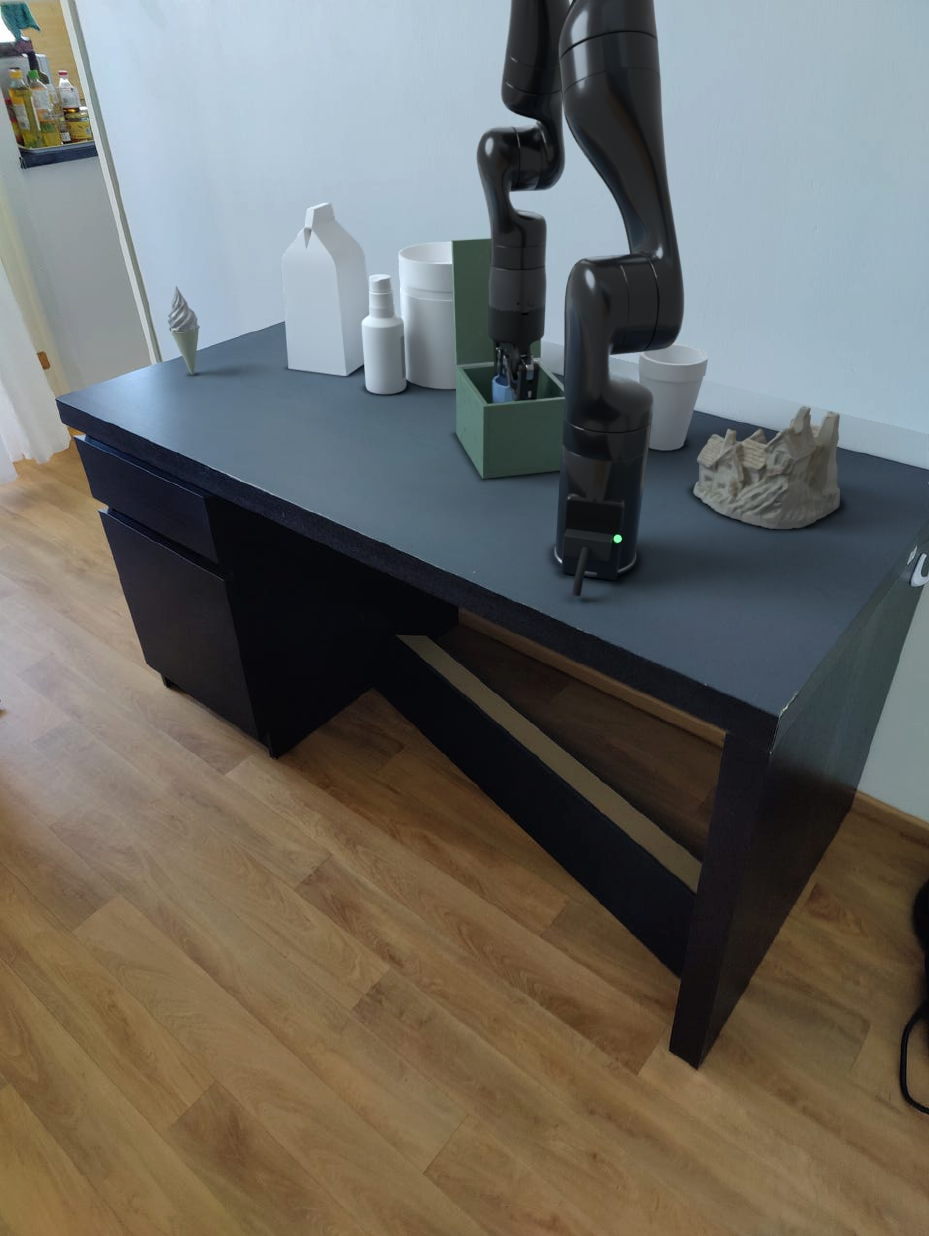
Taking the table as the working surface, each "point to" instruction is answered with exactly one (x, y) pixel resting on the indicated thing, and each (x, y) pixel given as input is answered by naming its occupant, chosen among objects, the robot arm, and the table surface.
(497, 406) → the green box
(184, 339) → the ice cream cone
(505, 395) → the cup
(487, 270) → the lid
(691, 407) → the foam cup
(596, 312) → the robot arm
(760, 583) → the table surface
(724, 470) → the ceramic cottage
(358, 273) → the milk
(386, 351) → the spray bottle
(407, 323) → the canister
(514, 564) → the table surface
